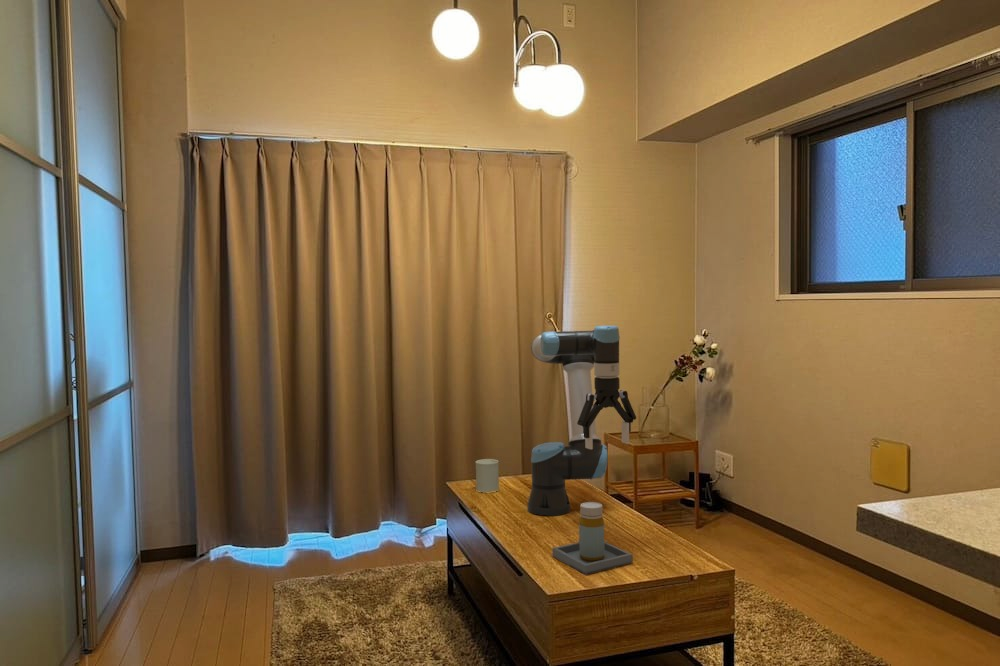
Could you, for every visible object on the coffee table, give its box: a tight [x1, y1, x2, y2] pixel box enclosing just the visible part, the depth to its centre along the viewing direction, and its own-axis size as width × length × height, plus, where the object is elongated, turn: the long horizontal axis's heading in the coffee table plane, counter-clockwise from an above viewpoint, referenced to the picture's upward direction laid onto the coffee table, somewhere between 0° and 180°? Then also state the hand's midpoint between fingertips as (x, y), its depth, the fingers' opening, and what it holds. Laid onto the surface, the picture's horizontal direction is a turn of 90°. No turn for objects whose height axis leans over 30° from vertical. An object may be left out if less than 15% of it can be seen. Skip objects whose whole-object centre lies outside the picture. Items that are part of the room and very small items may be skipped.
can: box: [475, 458, 500, 492], centre depth 270 cm, size 9×9×12 cm
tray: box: [552, 540, 634, 576], centre depth 194 cm, size 16×16×2 cm
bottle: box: [578, 501, 605, 562], centre depth 193 cm, size 7×7×15 cm
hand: (607, 445), depth 209 cm, fingers open, 13 cm apart
